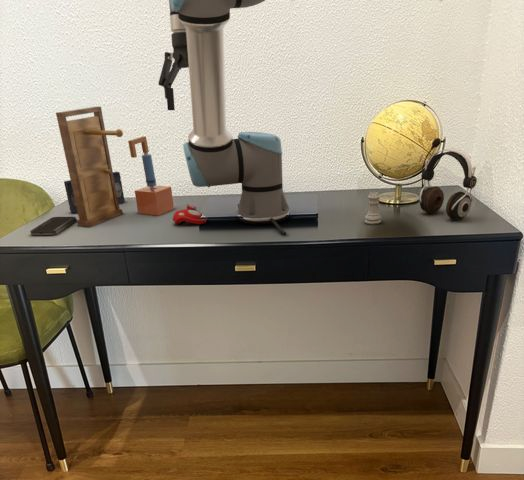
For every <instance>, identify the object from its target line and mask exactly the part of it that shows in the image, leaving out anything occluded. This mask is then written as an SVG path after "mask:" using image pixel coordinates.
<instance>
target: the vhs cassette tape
mask: <svg viewBox="0 0 524 480" xmlns="http://www.w3.org/2000/svg"><path fill="white" fill-rule="evenodd" d="M113 176H114V182H115V187H116V193H117V198H118V204H119V205H121V204H124V203H126V200H125V194H124V190H123V183H122V178H121V172H120V171H113ZM63 183H64V188H65V192H66V197H67V203H68V206H69V211H70V213H71V214H78V211H77V207H76V202H75V198H74V193H73V189H72V184H71V179H69V180H64V181H63Z"/></svg>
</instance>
